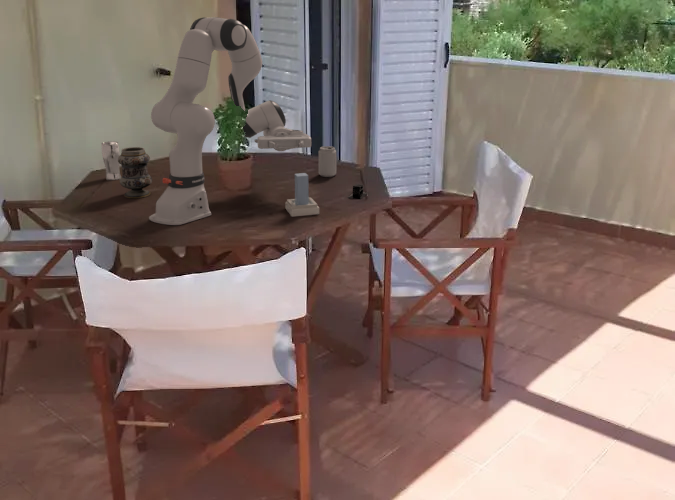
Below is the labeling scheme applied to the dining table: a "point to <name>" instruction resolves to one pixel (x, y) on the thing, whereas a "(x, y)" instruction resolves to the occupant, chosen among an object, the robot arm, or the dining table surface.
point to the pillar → (301, 189)
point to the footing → (301, 208)
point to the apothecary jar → (135, 172)
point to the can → (327, 161)
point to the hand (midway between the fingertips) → (288, 145)
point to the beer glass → (111, 159)
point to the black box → (357, 192)
